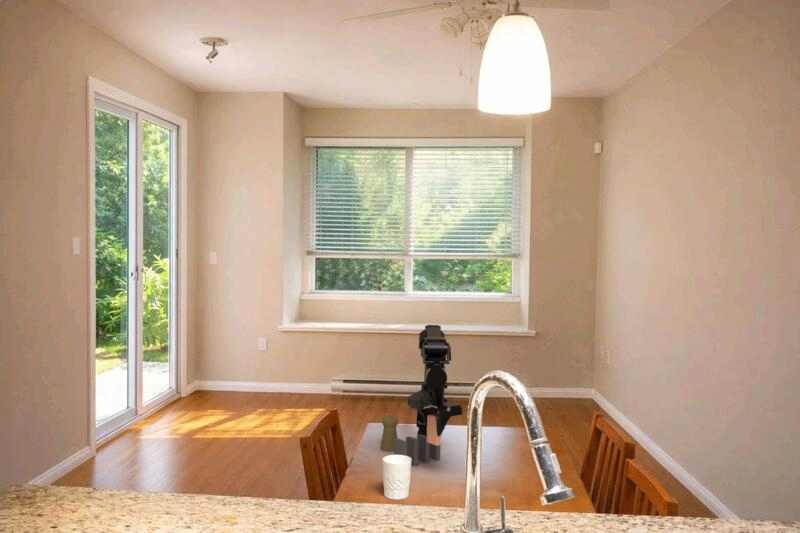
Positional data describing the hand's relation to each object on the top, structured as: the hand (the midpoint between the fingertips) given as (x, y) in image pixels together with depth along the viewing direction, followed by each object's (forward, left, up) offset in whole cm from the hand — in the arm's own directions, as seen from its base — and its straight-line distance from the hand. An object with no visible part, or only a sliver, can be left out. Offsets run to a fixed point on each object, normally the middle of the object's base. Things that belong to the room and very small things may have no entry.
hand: (433, 433), depth 199 cm
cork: (-6, -30, -13) cm, 33 cm away
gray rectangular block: (-12, -14, -13) cm, 22 cm away
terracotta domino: (0, 0, -3) cm, 3 cm away
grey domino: (-7, -14, -13) cm, 20 cm away
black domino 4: (+2, -14, -13) cm, 19 cm away
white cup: (+17, +5, -13) cm, 23 cm away
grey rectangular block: (-3, -14, -13) cm, 19 cm away
